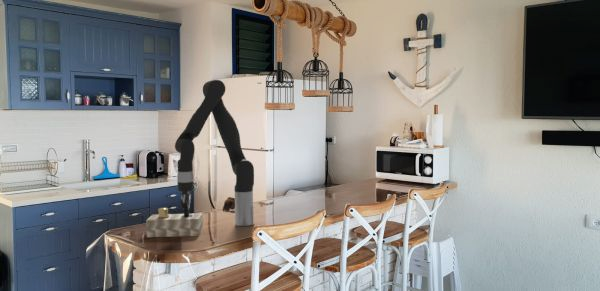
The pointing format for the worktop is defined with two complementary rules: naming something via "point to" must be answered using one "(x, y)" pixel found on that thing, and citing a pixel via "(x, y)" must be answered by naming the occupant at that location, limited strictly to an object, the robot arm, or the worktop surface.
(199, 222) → the ash socket block
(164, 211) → the brass peg
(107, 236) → the worktop surface
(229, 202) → the pottery mug
